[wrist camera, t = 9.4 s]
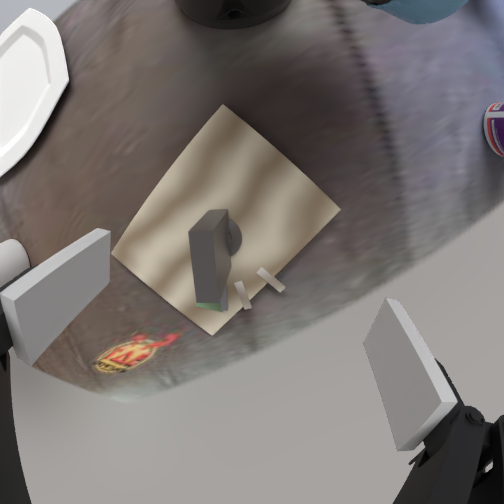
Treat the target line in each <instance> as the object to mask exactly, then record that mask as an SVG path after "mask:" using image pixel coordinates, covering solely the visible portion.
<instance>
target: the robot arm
mask: <svg viewBox="0 0 504 504" xmlns="http://www.w3.org/2000/svg"><path fill="white" fill-rule="evenodd" d="M175 1H176V2H177V4H178V5H179V7H180V8H181V9H182V11H183V12H184V13H185V14H186V15H187V16H188V17H189V18H191V19H192V20H194V21H196V22H198V23H200V24H202V25H205V26H208V27H213V28H220V29H238V28H245V27H250V26H254V25H257V24H260V23H263V22H265V21H267V20H269V19H271V18H273V17H274V16H276V15H277V14H279V13H280V12H281V11H282V10H283V9H285V7H286V6H287V5H288V4H289V2H290V1H291V0H175ZM361 1H363V2H365V3H366V4H367V5H368V6H370V7H372V8H376V9H381V10H383V11H385V12H387V13H389V14H392V15H394V16H396V17H398V18H400V19H401V20H403V21H406V22H408V23H412V24H426V23H434V22H437V21H439V20H442V19H444V18H446V17H448V16H449V15H451V14H453V13H454V12H456V11H457V10H458V9H460V8H461V7H462V6H464V5H465V4H466V3H467V2H468V1H469V0H361ZM110 236H111V231H107V230H103V229H99V228H97V229H95V230H93V231H92V232H90V233H88V234H87V235H85V236H83V237H82V238H80V239H79V240H77V241H75V242H74V243H72V244H70V245H69V246H67V247H66V248H64V249H63V250H61V251H59V252H58V253H56V254H55V255H53V256H52V257H50V258H49V259H47V260H46V261H44V262H43V263H41V264H40V265H36V266H33V267H30V268H27V269H26V270H24V271H23V272H21V273H20V274H19V275H17V276H16V277H14V278H13V280H10V281H9V282H7V283H6V284H4V285H3V286H2V287H0V504H31V500H30V497H29V494H28V490H27V486H26V483H25V478H24V474H23V470H22V466H21V461H20V456H19V451H18V445H17V439H16V433H15V426H14V418H13V409H12V397H11V382H10V356H9V352H8V350H9V349H10V348H11V347H12V346H14V349H15V352H16V355H17V357H18V358H19V359H21V360H23V361H24V362H26V363H28V364H29V365H31V366H32V364H33V363H34V362H35V361H36V360H37V359H38V357H39V356H40V355H41V354H42V353H43V352H44V351H45V350H46V348H47V347H48V346H49V345H50V344H51V343H52V342H53V341H54V340H55V339H56V337H57V336H58V335H59V334H60V333H61V332H62V331H63V330H64V329H65V328H66V327H67V326H68V324H69V323H70V322H71V321H72V320H73V319H74V318H75V317H76V316H77V315H78V314H79V313H80V312H81V311H82V310H83V309H84V308H85V307H86V306H87V305H88V304H89V303H90V302H91V301H92V300H93V299H94V298H95V297H96V296H97V295H98V294H99V293H100V292H101V291H102V290H103V289H104V288H105V287H106V286H107V285H108V284H109V268H110ZM363 344H364V347H365V350H366V353H367V355H368V359H369V361H370V364H371V367H372V370H373V373H374V376H375V379H376V382H377V385H378V388H379V391H380V394H381V398H382V401H383V404H384V407H385V410H386V414H387V417H388V420H389V424H390V427H391V430H392V434H393V437H394V441H395V444H396V448H397V451H408V450H414V449H415V448H416V447H417V446H418V445H419V444H420V443H421V442H422V441H423V442H424V445H425V448H424V449H423V450H422V451H421V452H420V453H419V454H418V455H417V456H416V457H415V458H414V459H412V460H411V461H410V463H409V465H411V464H412V463H413V462H415V461H416V462H415V464H414V466H413V468H412V470H411V472H410V474H409V476H408V478H407V480H406V482H405V483H404V485H403V487H402V489H401V490H400V492H399V494H398V495H397V497H396V499H395V501H394V502H393V504H504V415H502V416H500V417H499V419H498V420H497V421H496V422H495V423H494V424H493V423H489V422H485V419H484V416H483V415H482V414H481V412H480V411H478V410H477V409H476V408H474V407H471V406H465V405H464V403H463V401H462V400H461V398H460V396H459V394H458V392H457V390H456V388H455V387H454V385H453V384H452V381H451V379H450V378H449V377H448V374H447V373H446V371H445V369H444V367H443V366H442V365H441V364H440V363H439V362H438V361H437V360H436V359H435V358H434V357H433V355H432V354H431V352H430V350H429V349H428V347H427V345H426V344H425V342H424V340H423V339H422V337H421V335H420V334H419V332H418V330H417V329H416V327H415V326H414V324H413V322H412V321H411V319H410V318H409V316H408V314H407V313H406V311H405V310H404V308H403V307H402V306H401V304H400V302H399V301H397V300H394V299H389V298H385V300H384V302H383V304H382V306H381V309H380V311H379V313H378V315H377V317H376V319H375V321H374V323H373V325H372V327H371V329H370V331H369V333H368V335H367V337H366V339H365V341H364V343H363ZM492 461H493V468H492V469H490V470H489V471H488V472H485V468H486V467H487V466H488V465H489V464H490V463H491V462H492Z"/></svg>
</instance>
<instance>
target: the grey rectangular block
mask: <svg viewBox="0 0 504 504" xmlns="http://www.w3.org/2000/svg"><path fill="white" fill-rule="evenodd" d="M188 235H189V245H190V254H191V263H192V271H193V279H194V287H195V295H196V302H197V303H220V301H221V311H228V308H229V307H228V295H227V279H228V276H229V273H230V270H231V267H232V265H231V250H230V246H231V243H232V235H231V233H230V232H229V218H228V209H217V210H208V211H207V212H206V213H205V214H204V215H203V217H202V218H201V219H200V220H199V221H198V222H197V223H196V224H195V225H194V226H193V227H192V228H191V229H190V230H189V231H188Z"/></svg>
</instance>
